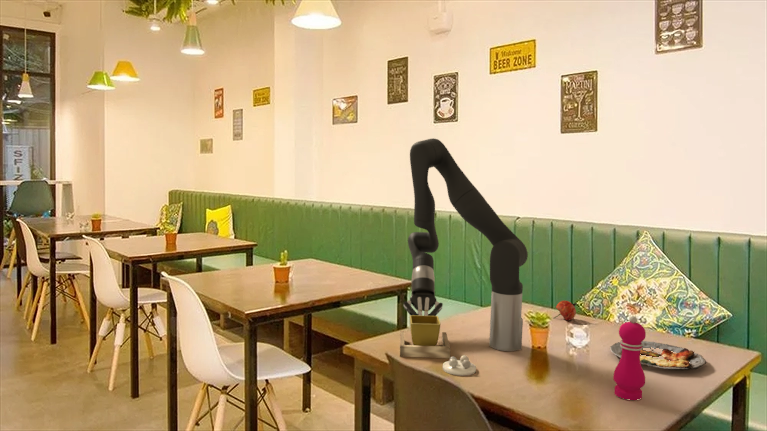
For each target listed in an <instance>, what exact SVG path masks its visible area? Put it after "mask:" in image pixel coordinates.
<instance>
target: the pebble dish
mask: <svg viewBox="0 0 767 431" xmlns="http://www.w3.org/2000/svg"><path fill="white" fill-rule="evenodd" d="M442 371H443V372H445V373H446V374H449V375H452V376H453V375H454V376H461V377H462V376H463V377H464V376H470V375H474V374H475V373H477V365H476V364H474V363H473V362H471V361H470V360H469V356H468V355H465V354H463V355H461V356H460V358H459V359H457V357H455V356H453V355H452V356H450V358H449V360H448V361H445V362H443V364H442Z"/></svg>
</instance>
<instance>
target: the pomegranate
mask: <svg viewBox="0 0 767 431" xmlns="http://www.w3.org/2000/svg"><path fill="white" fill-rule="evenodd" d="M576 305H577V306H578V303H577V302H575V303H572V302H571V301H568V300H566V299H565V300H560V301H559V302H558V303H557V304H556V306H555V308H556V309H557V310H558V311H559V314H557V315H556V316H554V317H553V319H556V318H557V317H560V316H562V317H563V319H564V320H565V321H571V320H573V319H574V318H575V317H576V314H577V310H576V307H575V306H576Z"/></svg>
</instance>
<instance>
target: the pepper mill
mask: <svg viewBox="0 0 767 431" xmlns="http://www.w3.org/2000/svg"><path fill="white" fill-rule="evenodd" d="M618 329H619V330H618V334H619V337H620V338H621V340H620V341H619V342H621V344H620V346H621V347H622V355H621V358H619V362H618V363H617V365H616V366H615V369H614V371H613V376H612V378H613V381H614V382H615V384H616V385H614V392H613V393H614V395H615V396H616V397H617V396H618V397H617V398H619V397H621V398H620V399H622V398H624V399H623V400H625V399H630V400H637V399H640V398H641V399H642V398H643V390H642V388H643V387H645V384H646V375H645V371H644V369H643V367H642V364H641V363H640V350H642V349H643V348H642V346H643V344H642V343H641V342H642V341H645V339H646V335H647V334H646V333H647V332H646V329H645V327H644V326H643V325H642V324H640V323H638V318H637V317H636V316H635V315H631V316H629V318H628V321H626V322H623V323H622V324H621V325H620V326H619V328H618ZM641 399H640V400H641ZM630 400H629V401H630ZM637 401H638V400H637Z"/></svg>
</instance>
